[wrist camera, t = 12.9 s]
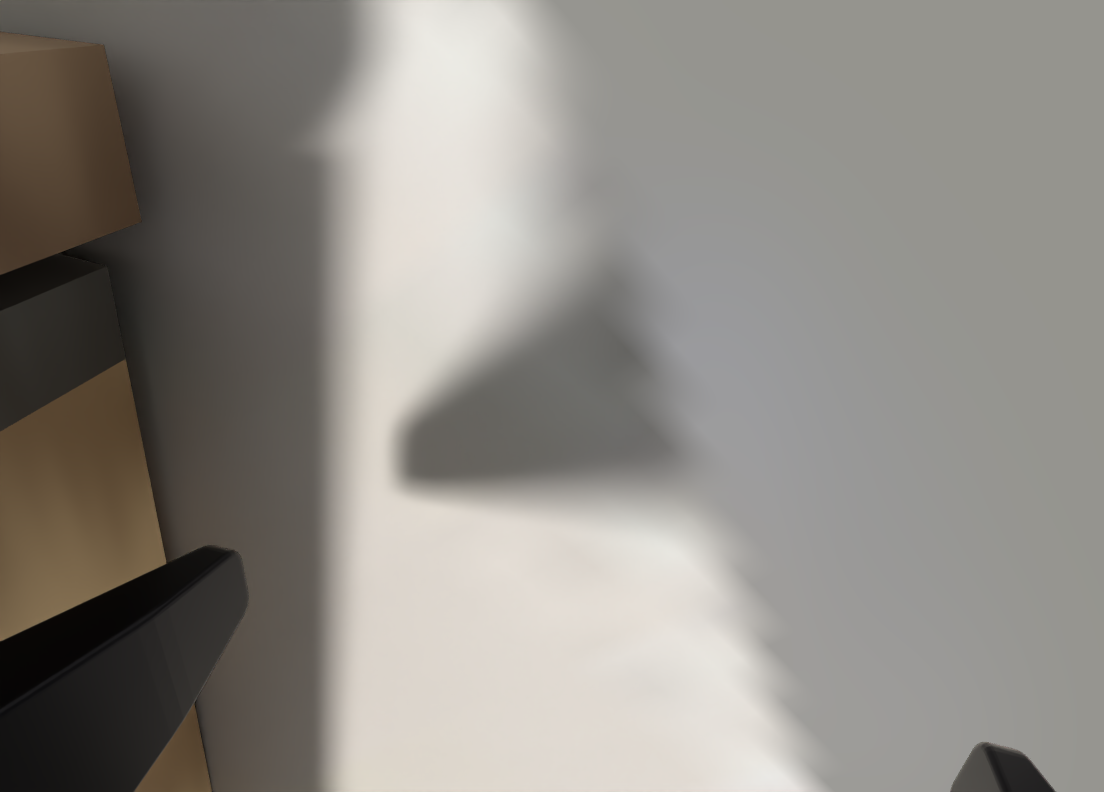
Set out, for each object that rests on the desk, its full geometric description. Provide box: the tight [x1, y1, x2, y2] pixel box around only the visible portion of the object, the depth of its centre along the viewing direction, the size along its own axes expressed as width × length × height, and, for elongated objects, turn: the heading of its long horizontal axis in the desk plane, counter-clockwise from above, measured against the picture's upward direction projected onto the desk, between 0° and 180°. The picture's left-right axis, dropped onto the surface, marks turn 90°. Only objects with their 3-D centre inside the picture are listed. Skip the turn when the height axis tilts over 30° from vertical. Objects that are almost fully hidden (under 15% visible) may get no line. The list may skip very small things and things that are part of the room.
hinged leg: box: [0, 254, 212, 792], centre depth 13 cm, size 18×3×4 cm, turn 172°
